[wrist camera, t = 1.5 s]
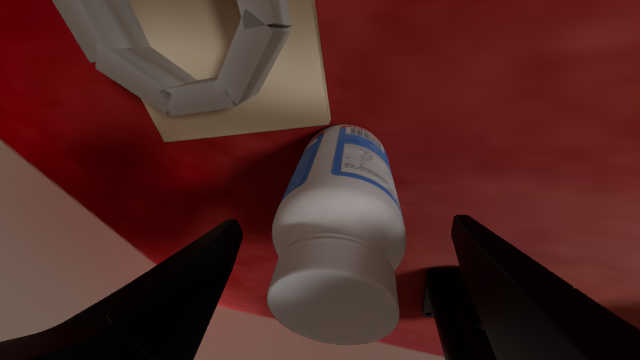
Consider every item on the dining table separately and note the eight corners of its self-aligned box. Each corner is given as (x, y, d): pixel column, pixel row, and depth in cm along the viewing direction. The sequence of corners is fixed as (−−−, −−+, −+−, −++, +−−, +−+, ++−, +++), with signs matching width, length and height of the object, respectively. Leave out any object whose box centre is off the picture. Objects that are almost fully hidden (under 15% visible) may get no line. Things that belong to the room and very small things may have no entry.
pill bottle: (320, 202, 17) (282, 354, 9) (291, 136, 15) (203, 264, 6) (395, 187, 15) (434, 358, 7) (378, 110, 13) (407, 238, 5)
